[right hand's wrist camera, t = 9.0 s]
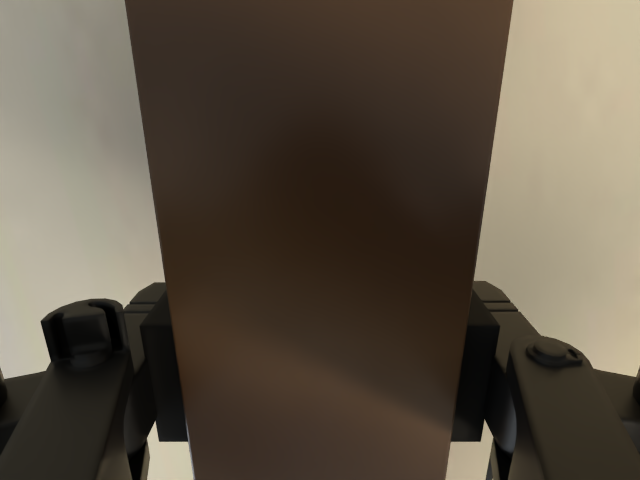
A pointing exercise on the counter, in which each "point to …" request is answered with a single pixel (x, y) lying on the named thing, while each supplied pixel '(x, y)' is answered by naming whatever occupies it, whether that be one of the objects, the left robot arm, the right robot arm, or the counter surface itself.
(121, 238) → the counter surface
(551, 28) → the counter surface
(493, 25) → the post
